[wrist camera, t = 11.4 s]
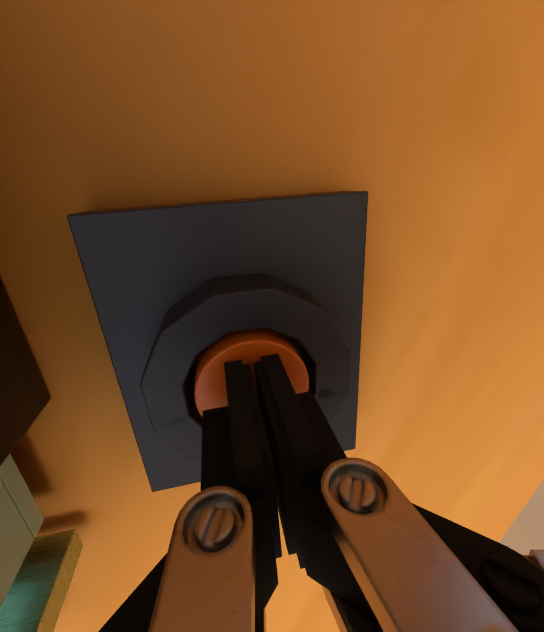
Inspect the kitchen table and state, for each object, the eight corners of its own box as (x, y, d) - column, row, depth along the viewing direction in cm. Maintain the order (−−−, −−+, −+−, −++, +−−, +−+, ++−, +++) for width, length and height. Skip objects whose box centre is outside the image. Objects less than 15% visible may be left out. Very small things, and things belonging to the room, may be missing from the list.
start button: (297, 396, 12) (310, 427, 11) (204, 413, 12) (203, 448, 10) (293, 311, 11) (308, 332, 9) (187, 325, 10) (184, 350, 9)
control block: (341, 423, 16) (375, 482, 13) (157, 460, 14) (143, 536, 11) (347, 191, 11) (400, 191, 8) (87, 211, 10) (32, 221, 7)
